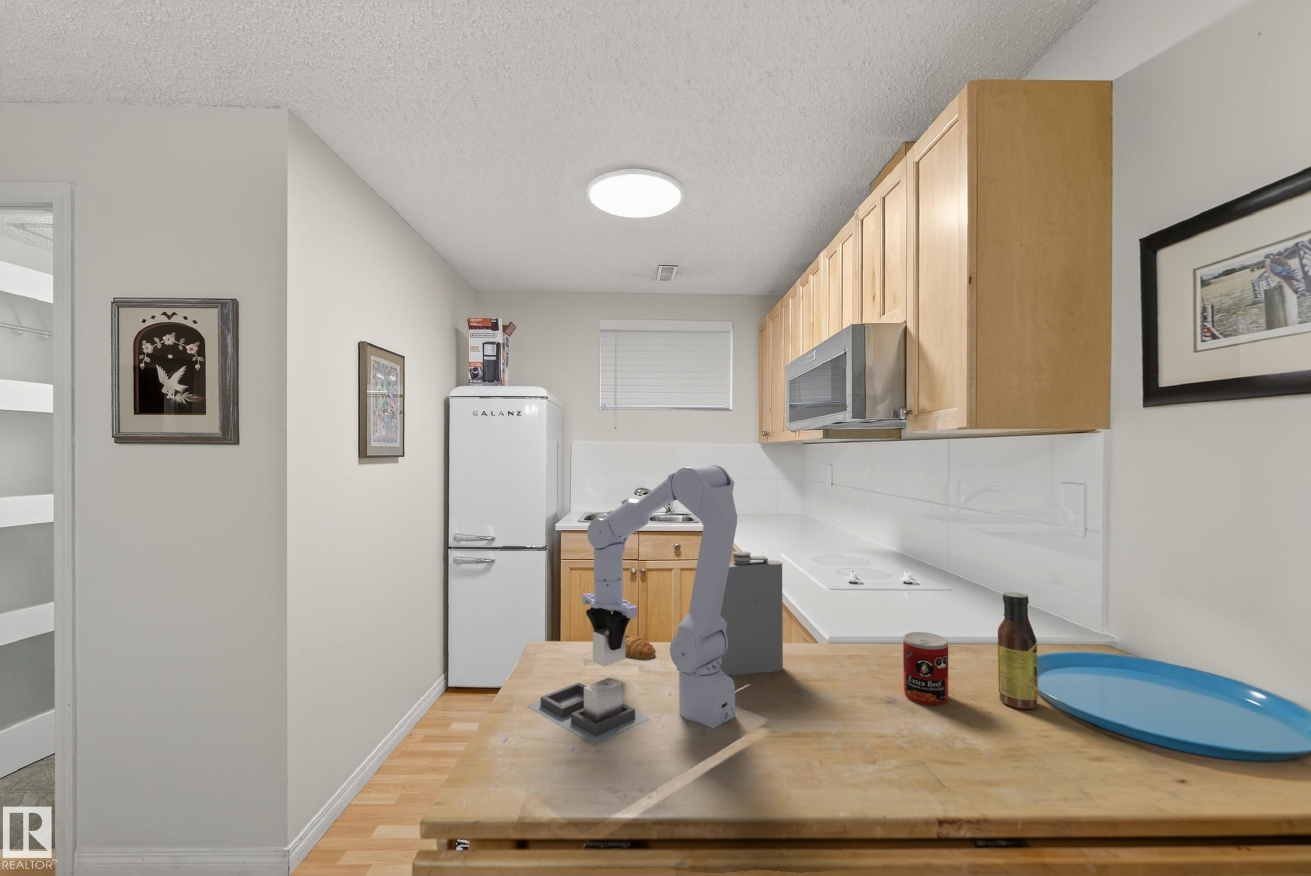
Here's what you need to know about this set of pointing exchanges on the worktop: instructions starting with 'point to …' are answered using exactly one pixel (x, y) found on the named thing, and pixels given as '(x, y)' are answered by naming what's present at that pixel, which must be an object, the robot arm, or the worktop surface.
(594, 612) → the robot arm
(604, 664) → the metal billet
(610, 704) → the block
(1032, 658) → the sauce bottle
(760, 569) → the flask
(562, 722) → the pallet
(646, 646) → the pastry
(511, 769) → the worktop surface
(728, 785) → the worktop surface
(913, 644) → the canned food
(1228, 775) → the worktop surface
